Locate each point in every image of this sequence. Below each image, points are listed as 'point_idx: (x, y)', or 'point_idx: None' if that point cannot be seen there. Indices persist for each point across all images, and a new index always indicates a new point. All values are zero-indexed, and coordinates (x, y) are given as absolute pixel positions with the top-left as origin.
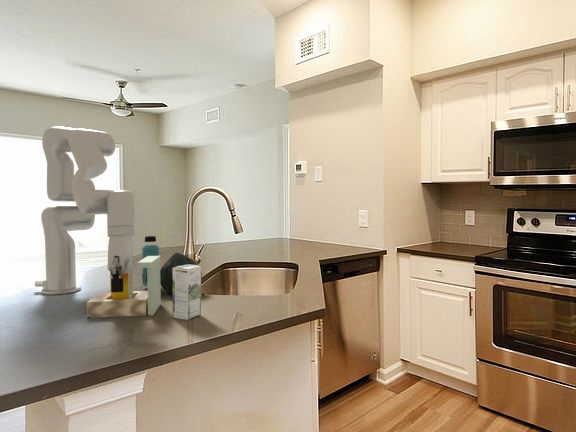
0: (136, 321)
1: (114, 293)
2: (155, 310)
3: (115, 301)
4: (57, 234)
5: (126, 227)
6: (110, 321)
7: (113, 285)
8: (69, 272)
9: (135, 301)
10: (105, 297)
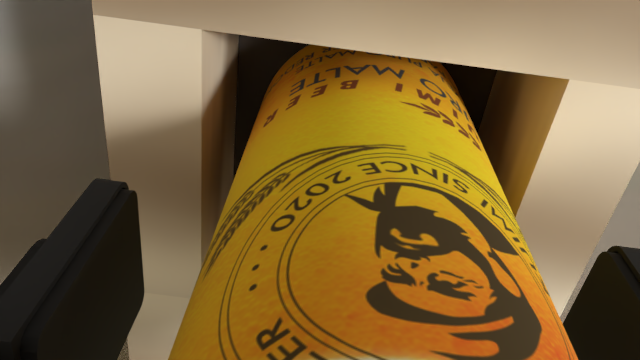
0: (27, 243)
1: (237, 171)
2: None
3: (112, 161)
4: None
5: None
6: (21, 68)
7: (8, 277)
8: None
9: None
10: (336, 13)
